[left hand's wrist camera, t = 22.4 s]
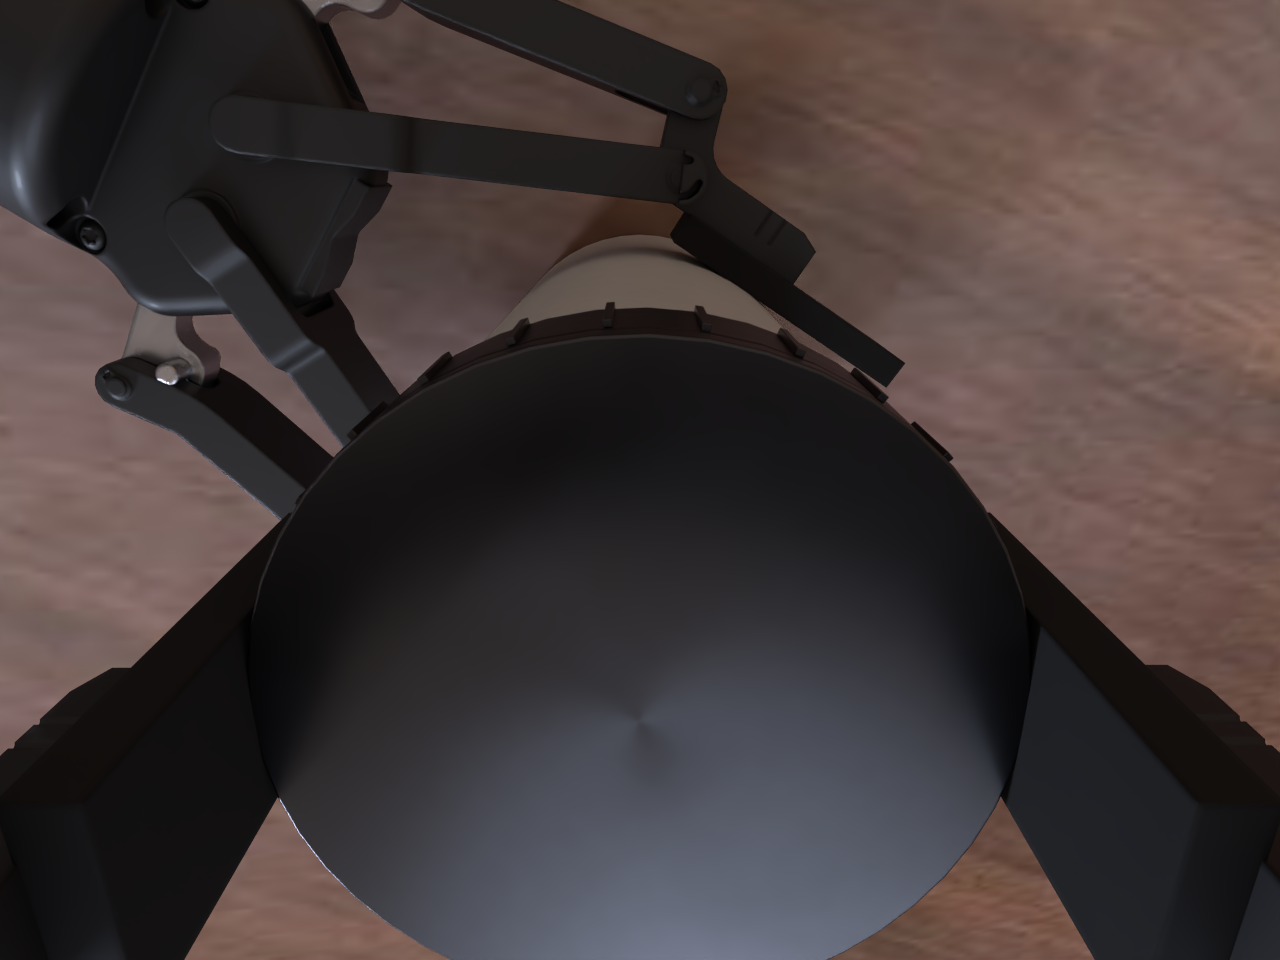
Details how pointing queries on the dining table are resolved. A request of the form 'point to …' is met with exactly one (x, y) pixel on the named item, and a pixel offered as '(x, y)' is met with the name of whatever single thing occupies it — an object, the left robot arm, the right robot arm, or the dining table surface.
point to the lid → (639, 650)
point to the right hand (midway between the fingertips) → (773, 504)
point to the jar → (635, 284)
